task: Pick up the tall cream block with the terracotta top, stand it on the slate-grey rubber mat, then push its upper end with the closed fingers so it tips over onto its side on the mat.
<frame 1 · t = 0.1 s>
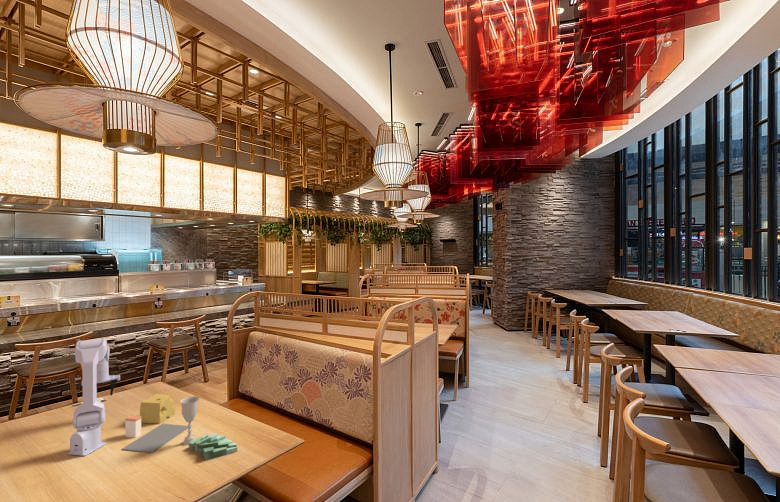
hand: (101, 396, 178), 11 cm above the table, tool pointing down, fingers open, 7 cm apart
slate mat: (157, 437, 160), on the table
chalice: (189, 442, 156), on the table
cheese: (157, 419, 178), on the table
cream block: (133, 435, 162), on the table
money: (215, 450, 151), on the table
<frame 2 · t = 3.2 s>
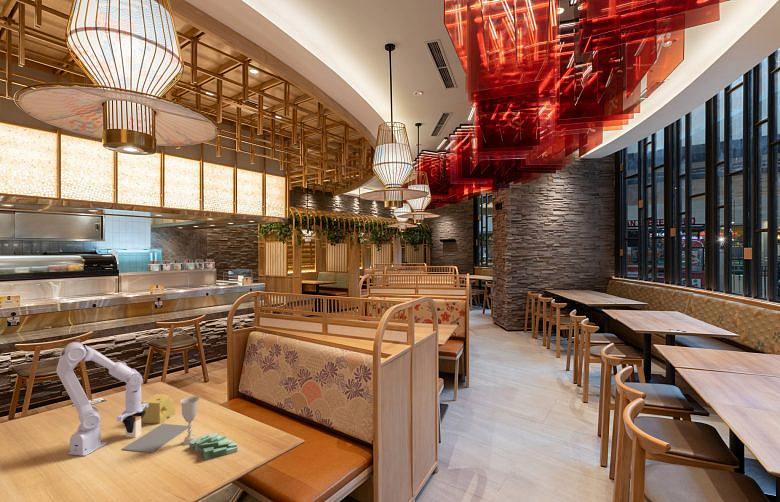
hand: (133, 430, 162), 2 cm above the table, tool pointing down, fingers closed on cream block, 3 cm apart
cream block: (133, 435, 162), on the table, touching gripper
everything else where it was.
when the fingers open (3 cm above the table, at t = 6.4 s): cream block stays where it is, resting on slate mat.
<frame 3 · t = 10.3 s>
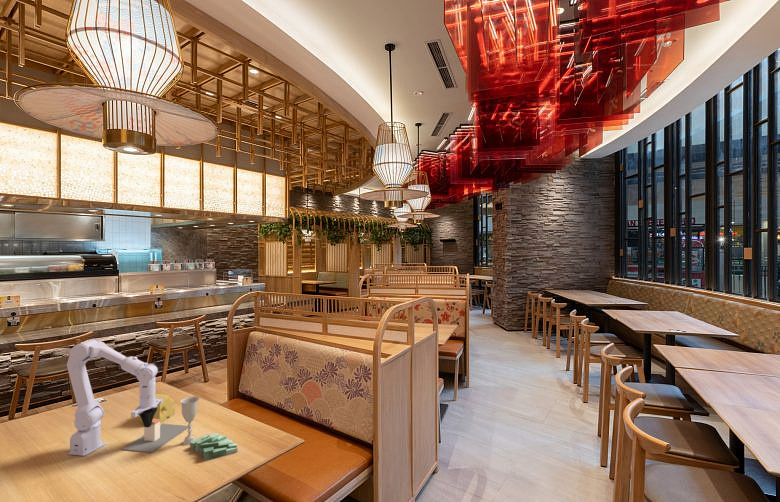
hand: (147, 426, 155), 7 cm above the table, tool pointing down, fingers closed
cream block: (152, 438, 158), resting on slate mat, touching gripper
everything else where it was.
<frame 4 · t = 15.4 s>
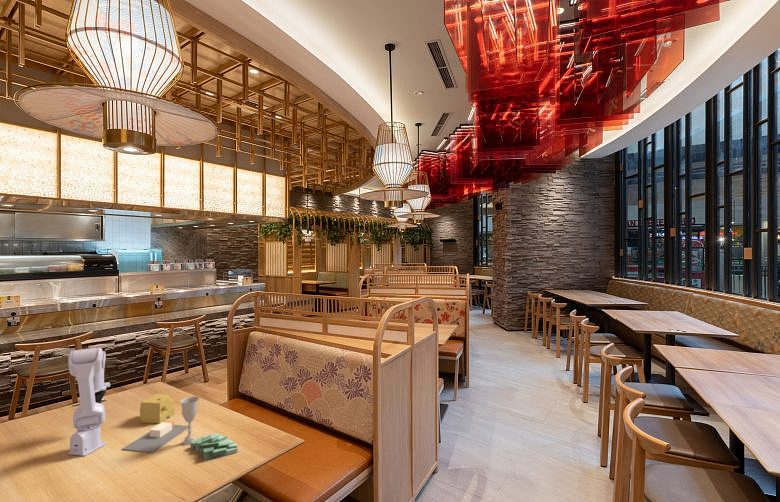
hand: (95, 408, 164), 10 cm above the table, tool pointing down, fingers closed
cream block: (154, 433, 159), point 2 cm above the table, tilted 90°, touching slate mat
everything else where it was.
at the end: cream block tilted 90°; cream block inside the target area (0.6 cm from its centre), point 1.9 cm above the table; the gripper is holding nothing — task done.
